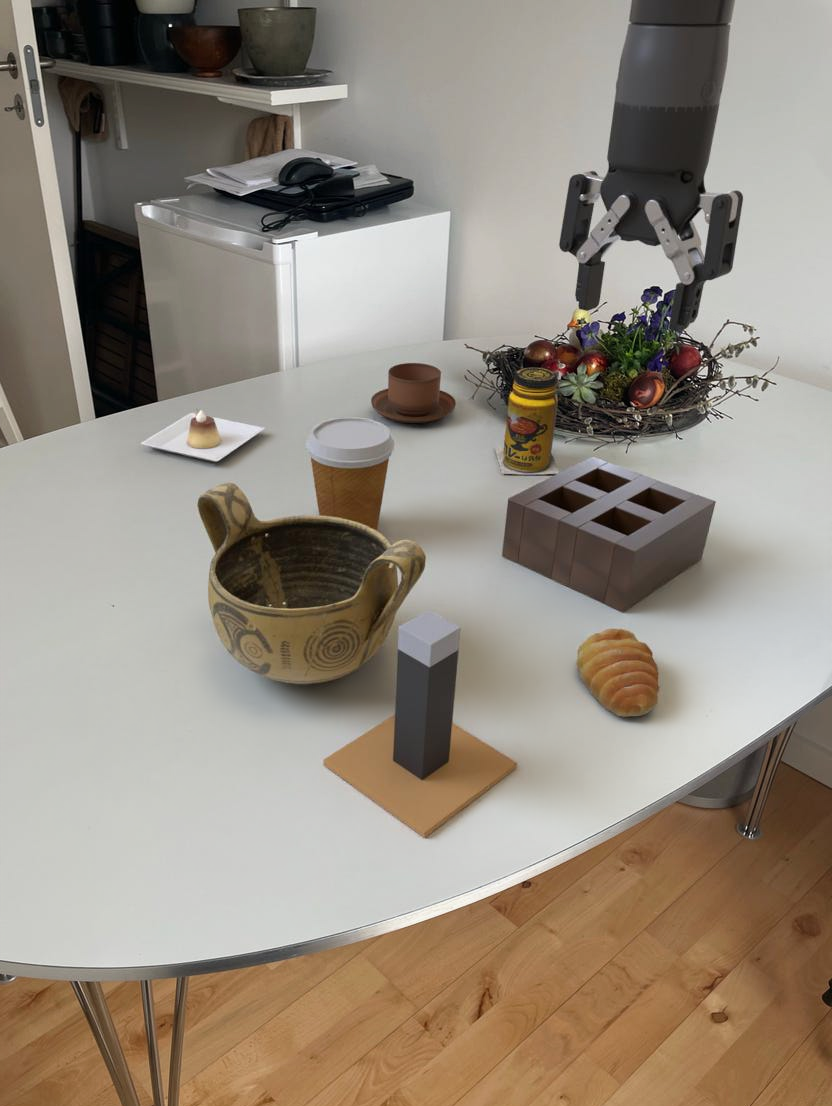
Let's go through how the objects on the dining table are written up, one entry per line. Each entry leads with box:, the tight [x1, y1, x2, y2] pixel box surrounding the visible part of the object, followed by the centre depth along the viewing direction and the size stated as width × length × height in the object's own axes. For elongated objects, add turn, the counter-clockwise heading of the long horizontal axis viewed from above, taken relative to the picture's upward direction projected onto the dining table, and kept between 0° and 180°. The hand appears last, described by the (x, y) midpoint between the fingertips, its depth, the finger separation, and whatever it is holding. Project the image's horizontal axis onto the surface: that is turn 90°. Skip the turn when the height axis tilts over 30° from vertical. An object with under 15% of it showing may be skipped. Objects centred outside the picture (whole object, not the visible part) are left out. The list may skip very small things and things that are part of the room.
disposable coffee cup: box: [305, 416, 395, 531], centre depth 106 cm, size 10×10×12 cm
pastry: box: [576, 628, 660, 718], centre depth 85 cm, size 9×7×4 cm
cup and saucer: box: [370, 362, 457, 424], centre depth 137 cm, size 12×12×6 cm
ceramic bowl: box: [197, 481, 427, 685], centre depth 85 cm, size 22×17×15 cm
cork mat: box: [322, 714, 518, 838], centre depth 78 cm, size 11×11×1 cm
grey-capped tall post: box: [393, 610, 461, 780], centre depth 74 cm, size 3×3×13 cm
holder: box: [501, 456, 717, 613], centre depth 103 cm, size 15×15×7 cm
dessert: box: [140, 409, 266, 463], centre depth 128 cm, size 12×12×5 cm
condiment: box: [494, 366, 561, 476], centre depth 122 cm, size 7×8×12 cm
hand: (631, 318), depth 81 cm, fingers open, 8 cm apart
